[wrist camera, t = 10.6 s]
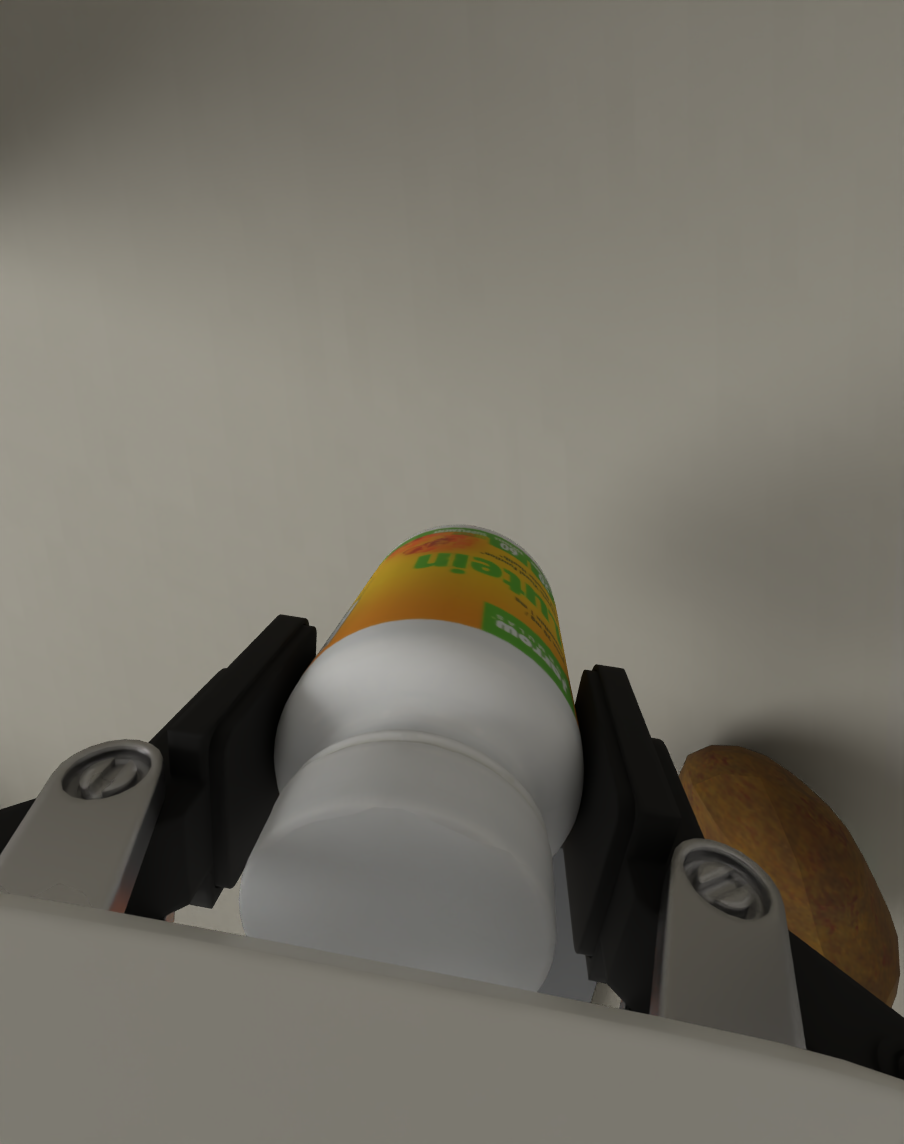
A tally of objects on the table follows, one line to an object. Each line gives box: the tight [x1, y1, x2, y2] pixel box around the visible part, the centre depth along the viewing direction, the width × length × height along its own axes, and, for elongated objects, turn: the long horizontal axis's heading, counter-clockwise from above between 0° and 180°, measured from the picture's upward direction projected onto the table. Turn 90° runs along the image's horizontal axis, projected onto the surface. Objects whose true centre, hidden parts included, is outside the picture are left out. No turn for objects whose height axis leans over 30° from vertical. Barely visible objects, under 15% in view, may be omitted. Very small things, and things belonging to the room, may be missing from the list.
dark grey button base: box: [537, 844, 597, 1003], centre depth 29 cm, size 16×14×3 cm
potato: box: [679, 745, 900, 1008], centre depth 22 cm, size 8×12×9 cm
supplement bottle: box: [239, 525, 584, 992], centre depth 11 cm, size 5×5×10 cm
